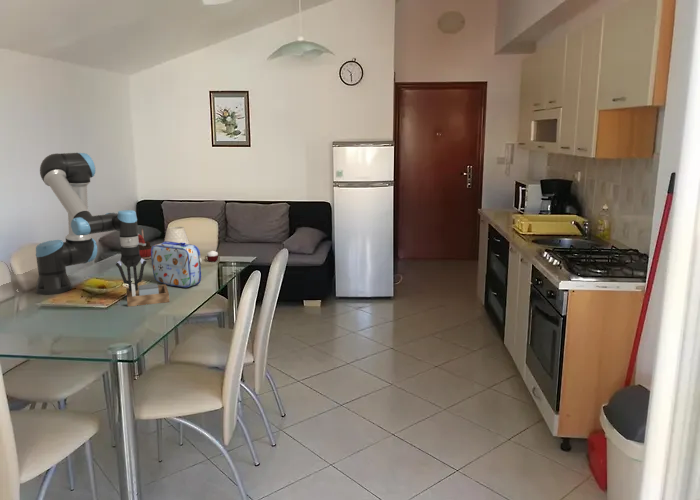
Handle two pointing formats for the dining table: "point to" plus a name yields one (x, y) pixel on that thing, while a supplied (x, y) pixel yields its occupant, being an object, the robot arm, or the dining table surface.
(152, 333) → the dining table surface
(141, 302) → the bay
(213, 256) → the cocoa
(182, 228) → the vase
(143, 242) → the cake
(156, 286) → the gray block
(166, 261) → the lunch box
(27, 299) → the dining table surface
